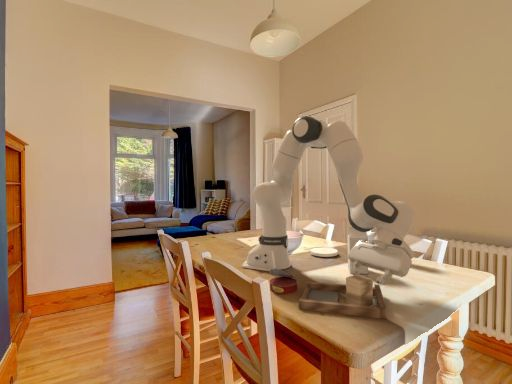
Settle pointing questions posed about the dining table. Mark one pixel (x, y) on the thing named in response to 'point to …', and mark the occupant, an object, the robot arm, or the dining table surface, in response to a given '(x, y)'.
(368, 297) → the tan wooden block
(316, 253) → the plastic lid
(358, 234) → the milk carton
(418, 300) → the dining table surface
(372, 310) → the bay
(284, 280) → the canned food
